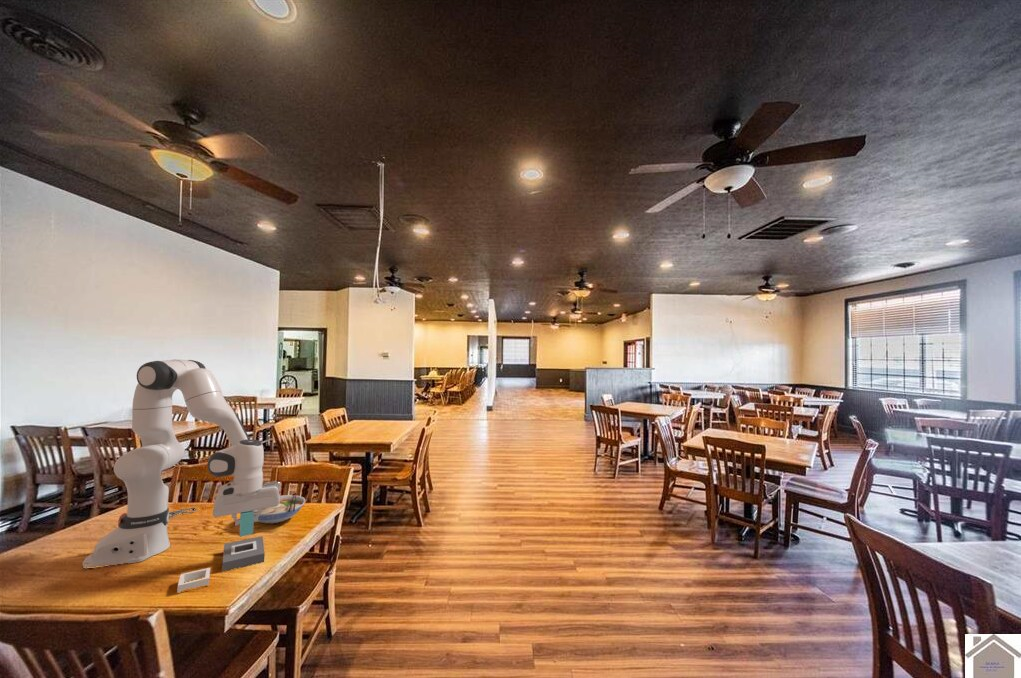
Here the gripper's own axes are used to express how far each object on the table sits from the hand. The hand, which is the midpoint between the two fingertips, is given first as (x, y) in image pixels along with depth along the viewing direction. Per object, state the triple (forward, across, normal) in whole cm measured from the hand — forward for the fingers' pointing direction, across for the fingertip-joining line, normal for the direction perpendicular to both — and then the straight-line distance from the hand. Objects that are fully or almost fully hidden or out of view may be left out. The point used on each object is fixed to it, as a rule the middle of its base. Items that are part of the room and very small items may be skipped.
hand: (246, 523), depth 140 cm
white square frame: (+12, +14, +12) cm, 21 cm away
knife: (+12, +30, -55) cm, 64 cm away
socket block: (+12, 0, 0) cm, 12 cm away
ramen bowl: (+12, -12, -30) cm, 35 cm away
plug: (+4, 0, 0) cm, 4 cm away
